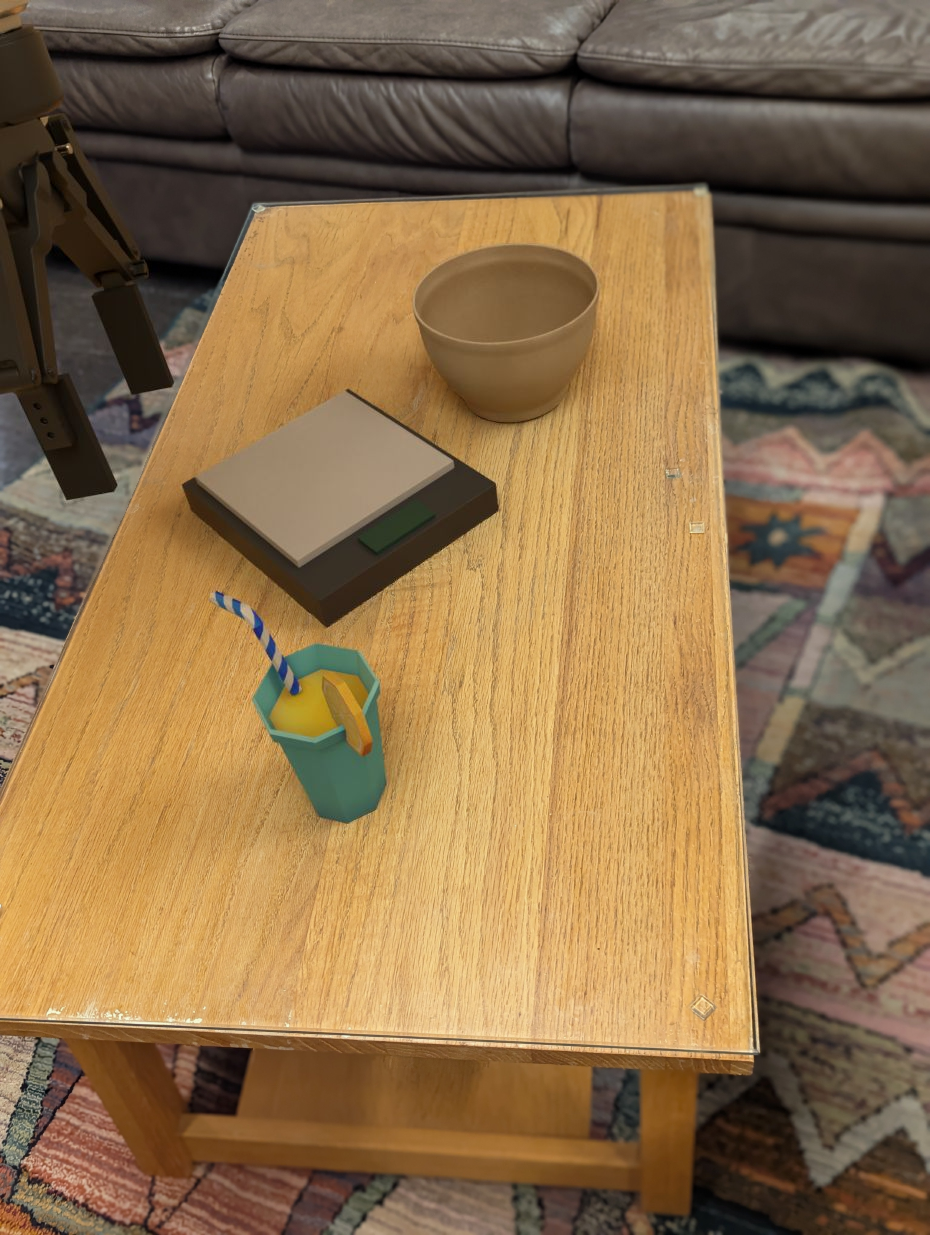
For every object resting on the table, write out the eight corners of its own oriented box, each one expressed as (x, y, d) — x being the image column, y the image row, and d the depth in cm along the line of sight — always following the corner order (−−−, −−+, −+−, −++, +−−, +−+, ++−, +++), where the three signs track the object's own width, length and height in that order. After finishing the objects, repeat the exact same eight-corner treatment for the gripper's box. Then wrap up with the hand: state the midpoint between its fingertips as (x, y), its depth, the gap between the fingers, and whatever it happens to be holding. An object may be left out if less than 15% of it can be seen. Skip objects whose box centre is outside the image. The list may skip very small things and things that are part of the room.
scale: (326, 627, 82) (317, 593, 80) (190, 510, 94) (178, 477, 91) (499, 510, 90) (495, 475, 87) (353, 414, 101) (346, 380, 98)
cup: (226, 771, 74) (159, 624, 63) (306, 698, 78) (256, 548, 67) (373, 880, 67) (327, 736, 56) (453, 794, 71) (424, 644, 60)
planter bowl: (475, 332, 108) (464, 230, 100) (626, 362, 102) (627, 256, 94) (396, 425, 99) (377, 321, 91) (557, 465, 93) (551, 357, 85)
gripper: (-80, 63, 41) (131, 536, 53) (103, -10, 61) (225, 344, 73) (-259, 105, 42) (-12, 561, 54) (-20, 20, 62) (121, 364, 74)
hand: (125, 437), depth 63 cm, fingers open, 13 cm apart
